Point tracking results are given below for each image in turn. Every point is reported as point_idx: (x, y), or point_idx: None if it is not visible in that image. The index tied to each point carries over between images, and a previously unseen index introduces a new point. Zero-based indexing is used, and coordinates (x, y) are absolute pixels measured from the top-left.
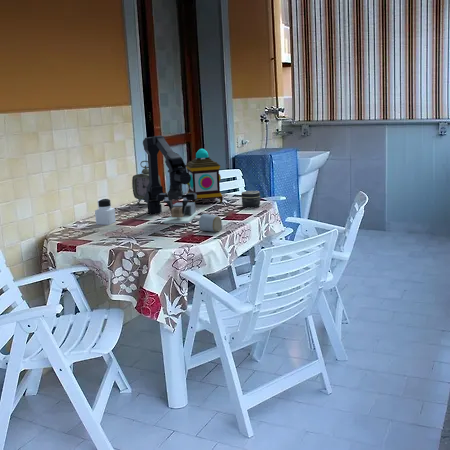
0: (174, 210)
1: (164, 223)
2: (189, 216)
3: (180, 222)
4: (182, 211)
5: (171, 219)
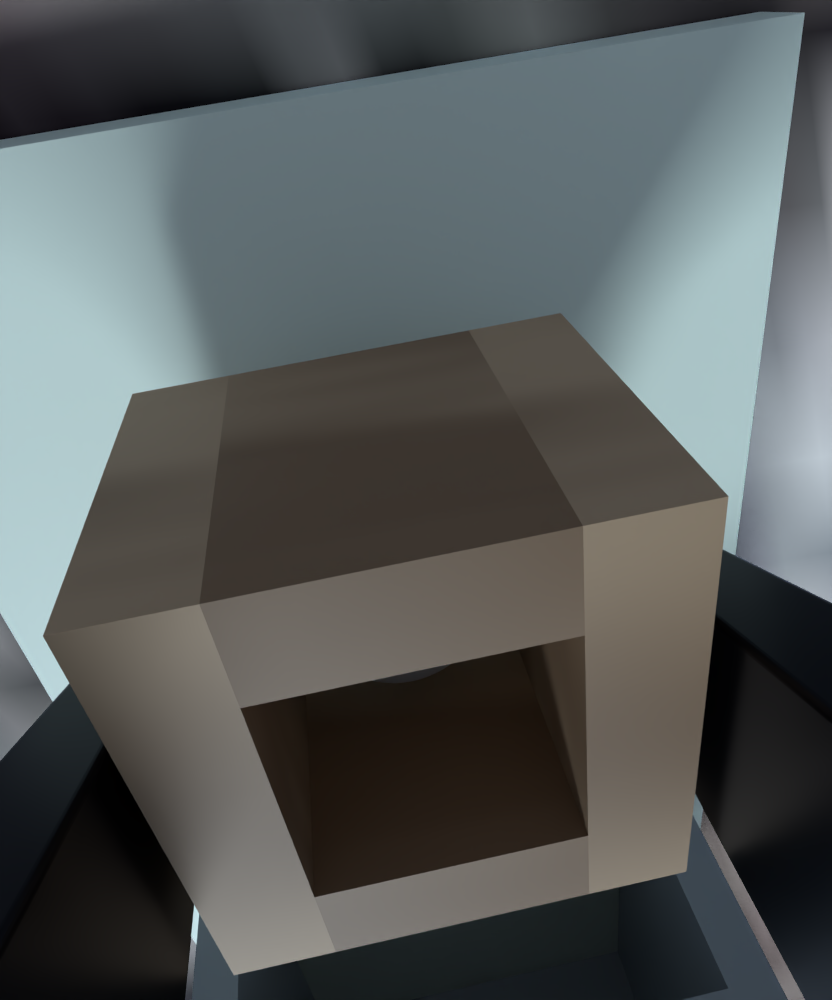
0: (497, 492)
1: (733, 18)
2: None
3: (103, 128)
4: None
5: None
